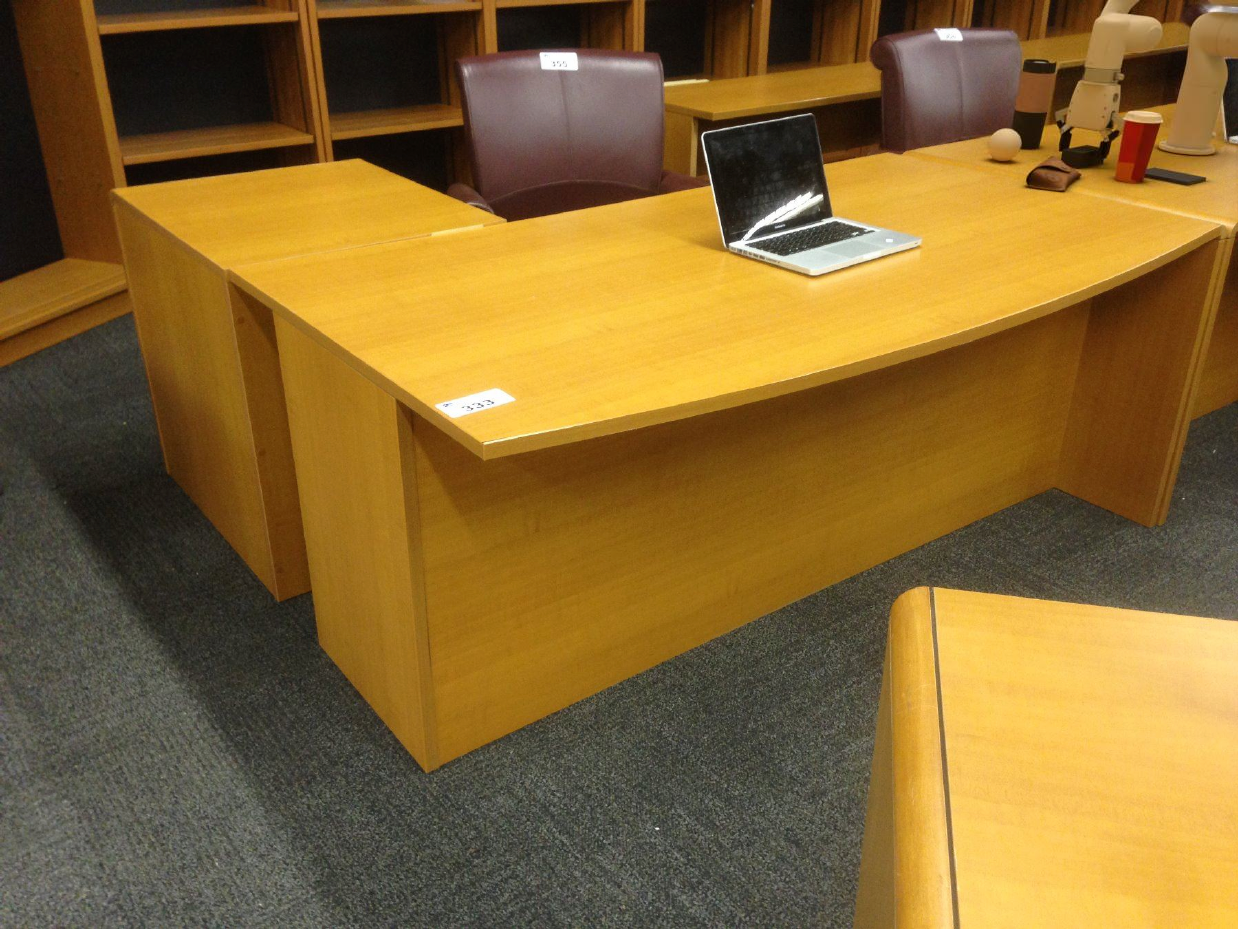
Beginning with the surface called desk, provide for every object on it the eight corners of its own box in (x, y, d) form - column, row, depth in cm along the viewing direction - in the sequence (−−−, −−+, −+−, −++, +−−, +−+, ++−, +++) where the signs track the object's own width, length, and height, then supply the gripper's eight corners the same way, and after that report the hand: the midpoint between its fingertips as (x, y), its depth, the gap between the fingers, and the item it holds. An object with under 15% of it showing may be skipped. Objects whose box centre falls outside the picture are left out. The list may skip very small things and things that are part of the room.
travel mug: (1006, 147, 259) (1022, 61, 250) (1009, 142, 265) (1024, 57, 256) (1039, 150, 256) (1057, 63, 247) (1040, 144, 263) (1058, 60, 253)
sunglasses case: (1067, 189, 217) (1055, 159, 216) (1033, 203, 222) (1022, 173, 221) (1083, 174, 231) (1072, 145, 230) (1051, 187, 235) (1040, 159, 234)
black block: (1083, 159, 247) (1086, 144, 246) (1103, 163, 244) (1106, 148, 242) (1059, 164, 242) (1062, 149, 240) (1078, 168, 239) (1082, 153, 237)
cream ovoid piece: (1017, 165, 240) (1024, 132, 237) (984, 162, 243) (989, 129, 239) (1019, 157, 249) (1025, 125, 245) (986, 154, 251) (992, 122, 248)
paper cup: (1146, 177, 231) (1162, 111, 225) (1149, 185, 225) (1166, 117, 218) (1107, 174, 234) (1123, 109, 227) (1110, 181, 227) (1126, 114, 221)
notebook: (1153, 170, 238) (1154, 167, 238) (1205, 180, 230) (1206, 177, 229) (1134, 174, 234) (1135, 171, 234) (1187, 185, 226) (1188, 181, 225)
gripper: (1146, 80, 230) (1126, 160, 238) (1074, 70, 242) (1057, 147, 250) (1127, 82, 226) (1108, 163, 234) (1056, 72, 238) (1039, 149, 246)
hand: (1082, 154), depth 242 cm, fingers open, 9 cm apart
